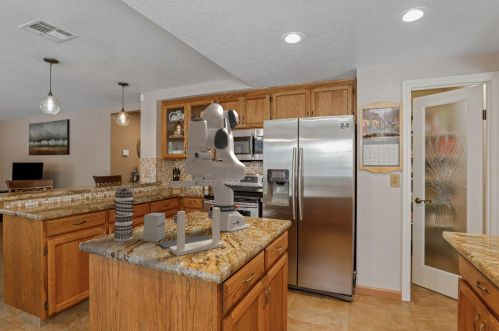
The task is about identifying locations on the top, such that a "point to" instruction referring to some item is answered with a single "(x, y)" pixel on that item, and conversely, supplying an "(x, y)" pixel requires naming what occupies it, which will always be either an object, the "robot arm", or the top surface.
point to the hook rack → (200, 245)
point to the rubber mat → (187, 240)
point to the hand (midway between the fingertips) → (196, 185)
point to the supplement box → (154, 227)
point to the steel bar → (194, 183)
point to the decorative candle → (123, 214)
